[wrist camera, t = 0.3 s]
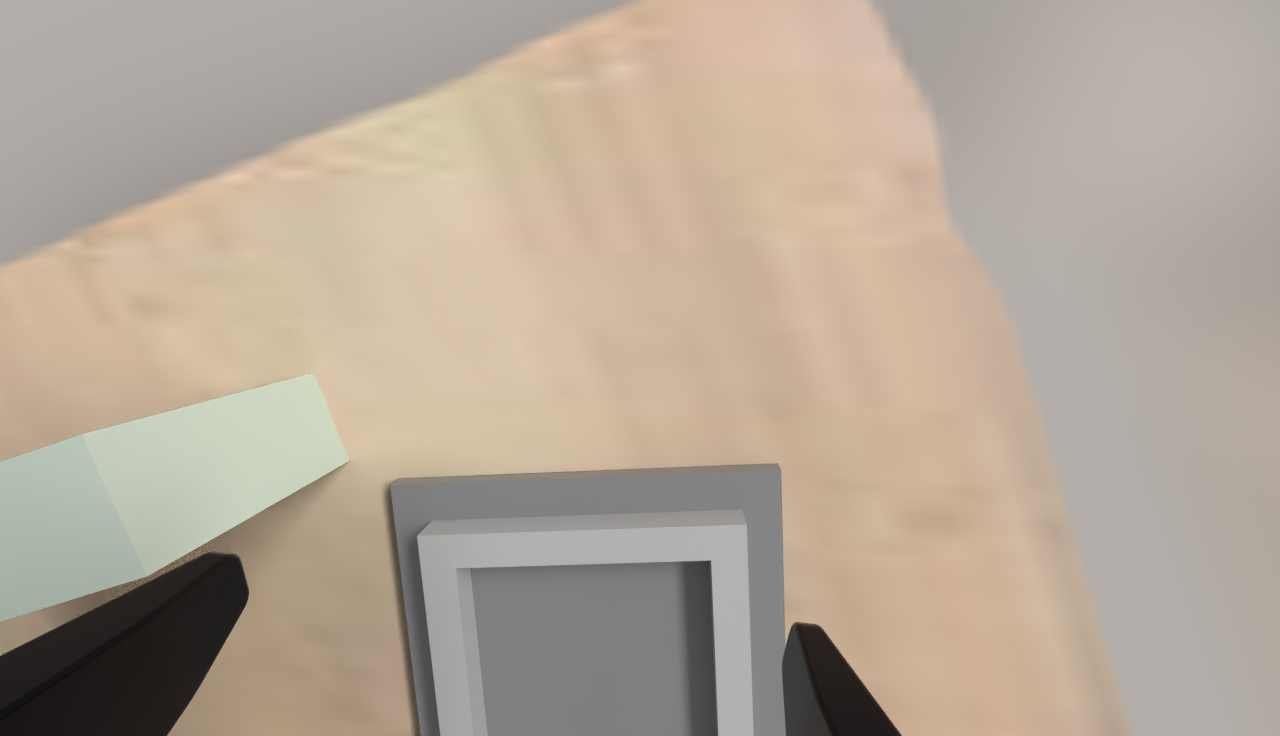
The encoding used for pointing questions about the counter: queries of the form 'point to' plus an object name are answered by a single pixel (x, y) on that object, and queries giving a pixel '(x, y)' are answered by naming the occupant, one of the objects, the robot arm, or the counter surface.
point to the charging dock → (595, 601)
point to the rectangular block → (154, 490)
